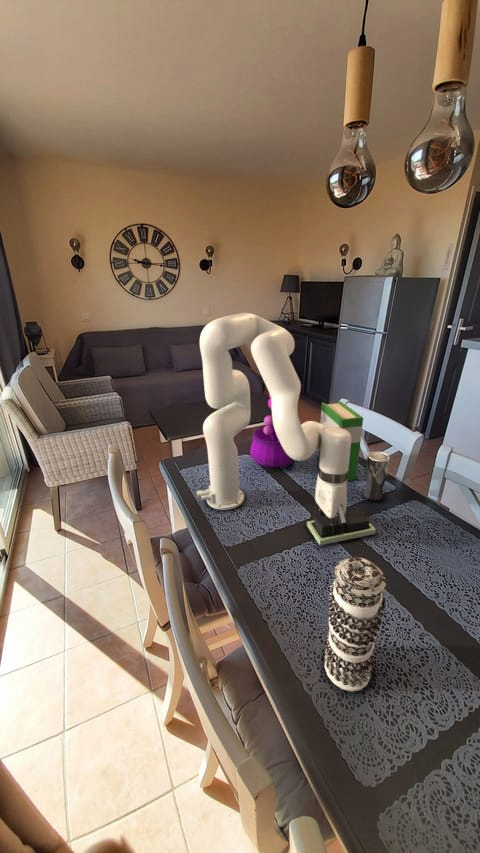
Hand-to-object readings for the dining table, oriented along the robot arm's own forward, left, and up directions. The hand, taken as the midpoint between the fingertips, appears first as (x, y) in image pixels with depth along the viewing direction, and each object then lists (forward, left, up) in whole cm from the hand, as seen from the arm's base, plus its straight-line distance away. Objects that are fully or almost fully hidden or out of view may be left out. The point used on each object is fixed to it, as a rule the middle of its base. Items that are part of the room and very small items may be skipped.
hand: (329, 527), depth 103 cm
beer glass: (+23, +13, -2) cm, 26 cm away
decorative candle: (-14, -36, -2) cm, 39 cm away
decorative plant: (-1, +45, -2) cm, 45 cm away
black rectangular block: (0, 0, -1) cm, 1 cm away
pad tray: (+4, 0, -2) cm, 4 cm away
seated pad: (+8, 0, -2) cm, 8 cm away
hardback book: (+20, +33, -2) cm, 39 cm away
